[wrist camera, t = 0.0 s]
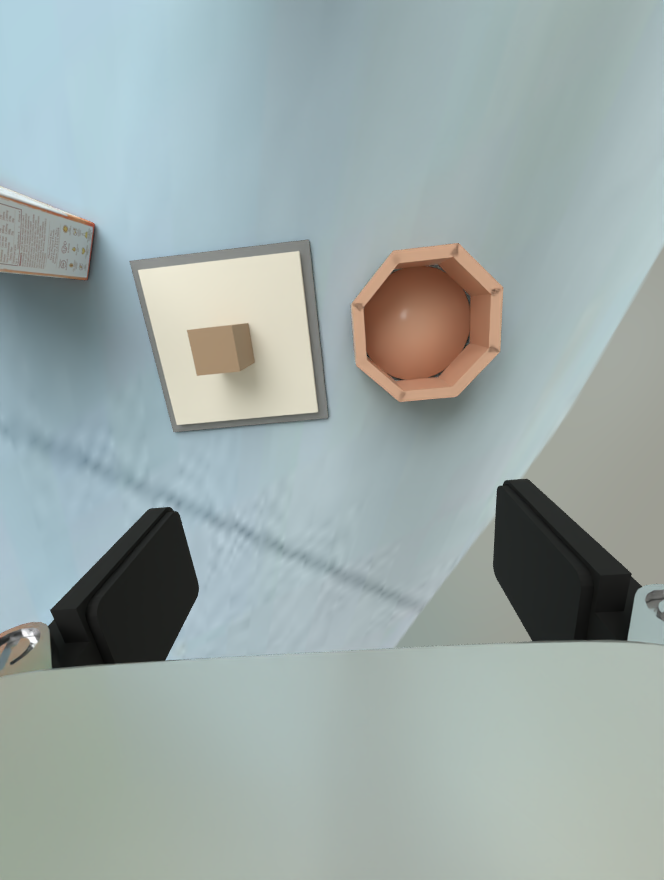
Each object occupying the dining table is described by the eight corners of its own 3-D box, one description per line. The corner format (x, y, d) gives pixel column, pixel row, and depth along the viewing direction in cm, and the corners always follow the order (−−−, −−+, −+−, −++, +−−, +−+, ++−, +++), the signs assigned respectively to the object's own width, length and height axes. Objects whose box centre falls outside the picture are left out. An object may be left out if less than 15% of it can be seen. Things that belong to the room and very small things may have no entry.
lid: (141, 270, 37) (99, 262, 30) (299, 252, 36) (290, 239, 30) (179, 422, 42) (150, 443, 36) (318, 410, 41) (313, 428, 35)
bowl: (346, 264, 37) (347, 255, 31) (479, 249, 36) (505, 237, 30) (357, 392, 41) (359, 405, 35) (476, 381, 40) (498, 392, 34)
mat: (132, 261, 37) (129, 260, 37) (309, 240, 36) (308, 239, 36) (175, 430, 43) (173, 432, 43) (328, 416, 42) (328, 418, 41)
